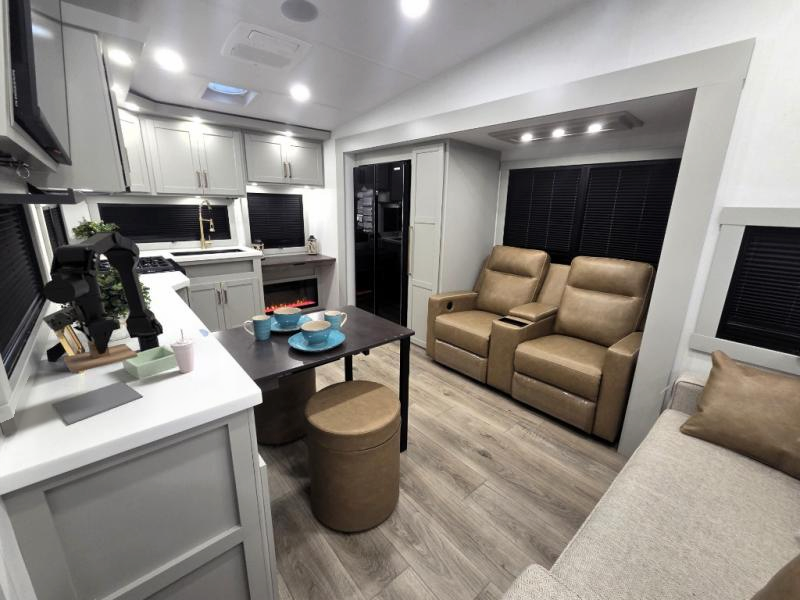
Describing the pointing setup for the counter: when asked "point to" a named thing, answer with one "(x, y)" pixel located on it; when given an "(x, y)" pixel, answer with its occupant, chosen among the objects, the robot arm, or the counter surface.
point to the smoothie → (184, 353)
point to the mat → (95, 402)
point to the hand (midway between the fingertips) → (99, 352)
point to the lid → (98, 357)
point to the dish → (151, 362)
